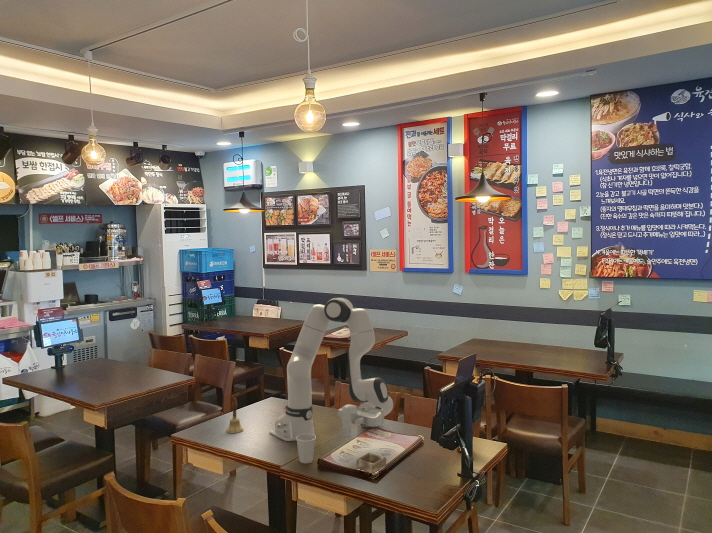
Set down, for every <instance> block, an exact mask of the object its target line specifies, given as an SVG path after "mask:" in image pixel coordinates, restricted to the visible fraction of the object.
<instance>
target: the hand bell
mask: <svg viewBox="0 0 712 533" xmlns="http://www.w3.org/2000/svg"><path fill="white" fill-rule="evenodd" d="M231 409H232V418H231V419H229V425H228V427H227V428H226V429H225V430H226V431H225V432H226V433H228V434H238V433H241V432H243V431H244V427H243V426H242V425H241V423H240V421H241V420H240V418H238V417H237V409H238V400H237V397H233V398H232V402H231Z"/></svg>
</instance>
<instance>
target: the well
mask: <svg viewBox="0 0 712 533" xmlns="http://www.w3.org/2000/svg"><path fill="white" fill-rule="evenodd" d="M385 466H386V467H387V457H384V456H380V455H378V454H374V453H370V452H368V453H365V454H364V455H362V456H361V457H359V458H357V459H356V469H360V470H364V471H367V472H369V473H375V472H377V471H379V470H380V469H381V468H383V467H385Z"/></svg>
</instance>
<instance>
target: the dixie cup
mask: <svg viewBox="0 0 712 533" xmlns="http://www.w3.org/2000/svg"><path fill="white" fill-rule="evenodd" d="M296 439H297V440H296V443H297V446H296V447H297V453H298V462H300V464H311V463H312V462H313V461H314V454H315V453H314V452H315V446H316V439H317V436H316V434H315V435H313V434H300V435H298V436H297V437H296Z"/></svg>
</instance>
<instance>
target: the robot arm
mask: <svg viewBox="0 0 712 533" xmlns="http://www.w3.org/2000/svg"><path fill="white" fill-rule="evenodd" d="M331 322H334V323H345V324H346V325H347V326H348V330H349V334H350V345H349V347H348V348H347V349H348V350H347V366H348V367H347V368H348V380H349V382H348V383H349V384H348V395H349V397H350V399H351V400H352V401H353V402H355V403H358V404H359V403H360V402H364V401H368V402H365V403H363V404H361V405H359V406H357V419H354V420H353V424H357V425H359V424H360V425H361V424H366V425H370V426H378V425H379V426H380V425H383V424H384V422H385V416H387V415H389V414H390V413H391V412H392V410H393V408H394V400H393V399H392V397H391V396H390V395H389V388H388V386H387V384H386V382H385V380H383V378H381V377H379V376H377V377H371V378H365V379H362V374H361V359H362V357H363V356H364V355H365V354H367V353H369V351H371V350H372V348H373V347H374V345H375V343H376V335H375V330H374V329H375V328H374V326H373V323H372V322H373V321H372V318H371V317H370V315H369V312H368V311H367V309H365V308H360V307H359V308H355V304H354V303H353V301H351V300H350V299H348V298H346V297H334V298H331V299H330V300H328V301H327V302H326V304H314V305H313V306H312V307H311V308H310V310H309V311H308V312H307V315H306V317H305V319H304V322H303V324H302V327H301V329H300V332H299V334H298V336H297V340H296V343H295V345H294V348H293V350H292V354H291V356H290V358H289V360H288V363H287V366H286V376H287V377H286V378H287V379H286V380H287V399H288V400H287V405H285V407H283V410H285V411H284V413H283V414H282V415H280V416H279V417H278V418H277V419H276V420H275V422H274V427H273V428H271V429H270V430H269V434H270V435H272V436H274V437H276V438H279V439H281V440H283V441H285V442H291V441H292V442H293V441H297V439H296V437H297V436H298V435H300V434H313V435H315V436H316V434H315V429H314V423H313V422H314V421H313V404H312V403H313V402H312V401H313V400H312V397H313V396H312V395H313V394H312V366H313V364H314V361H315V358H316V356H317V354H318V352H319V349H320V347H321V344H322V342H323V339H324V336H325V334H326V331H327V329H328V326H329V325H330V323H331ZM337 417H338V418H339V419H342V407H341V408H340V407H339V409H338V410H337ZM379 426H378V427H379Z"/></svg>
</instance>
